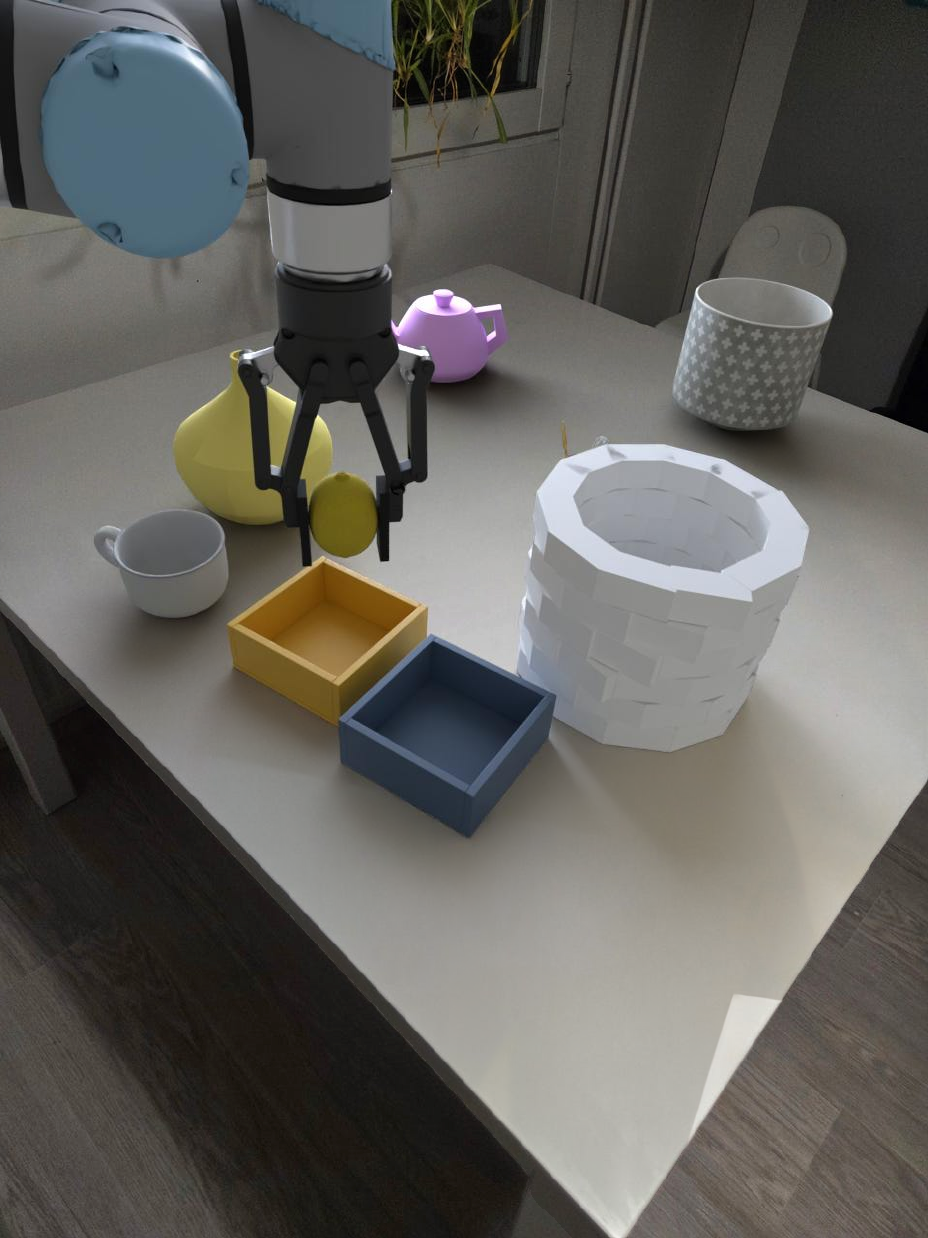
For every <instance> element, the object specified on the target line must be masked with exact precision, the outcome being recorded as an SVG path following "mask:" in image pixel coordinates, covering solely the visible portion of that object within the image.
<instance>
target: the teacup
mask: <svg viewBox="0 0 928 1238" xmlns="http://www.w3.org/2000/svg"><path fill="white" fill-rule="evenodd" d="M107 539H108V540H110V541H112V542H113V546H111V544H110V543H109V542H108V540H107ZM93 545H94V547H95V549H96V551H97V552H98V554H99V556H101V557H102V558H103V559H104V560H105V561H106V562H108V563H109V564H110V565H112V566H114V567H116V568H117V569H118V570H119V573H120V576H121V579H122V582H123V585H124V587H125V590H126V592H127V594H128V596H129V598H130V599H131V600H132V602H133V603H134V604H135V605H136V606H137V607H138V608H139V609H140V610H142V611H144V612H145V613H148V614H150V615H153V616H156V617H160V618H169V619H171V618H172V619H173V618H174V619H179V618H186V617H190V616H194V615H197V614H199V613H201V612H203V611H205V610H206V609H208V608H210V607H211V606H212V605H214V604H215V603H217V601H219V599H220V598H222V595H223V594H224V593H225V591H226V587H227V585H228V582H229V574H230V573H229V571H230V570H229V561H228V560H229V559H228V553H227V549H226V535H225V532H224V529H223V527H222V525H221V523H219V522H218V521H217V520H216V519H215V518H213V517H212V516H210V515H209V514H206V513H203V512H201V511H197V510H191V509H180V508H176V509H175V508H173V509H164V510H159V511H154V512H151V513H149V514H145V515H143V516H141V517H139V518H136V519H135V520H134V521H132V522H130V523H129V524H128V525H126V526H125V527H124V528H123V529H120V528H117V527H115V526H112V525H105V526H102V527H100V528H99V529H98V530H97V531H96V532H95V534H94V536H93Z"/></svg>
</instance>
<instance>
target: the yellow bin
mask: <svg viewBox="0 0 928 1238" xmlns="http://www.w3.org/2000/svg"><path fill="white" fill-rule="evenodd" d="M428 614H429V606H427V605H425V604H424V603H421V602H419V601H417V600H415V599H412V598H410V597H408V596H406V595H404V594H402V593H400V592H397V591H396V590H394V589H391V588H389V587H388V586H385V585H384V584H381V583H379V582H377V581H376V580H373V579H371V578H369V577H366V576H365V575H362V574H360V573H359V572H356V571H354V570H352V569H350V568H348V567H346V566H344V565H342V564H339V563H337V562H335V561H333V560H331V559H330V558H328V557H326V556H323V555H322V556H320V557H318V558H317V559H315V560H314V561H312V566H309V567H303V569H301V570H300V571H299V572H298V573H296V574H295V575H293V576H291V578H289V579H288V580H286V581H284V583H282V584H281V585H279V586H278V587H276V588H275V589H274V590H272V591H271V592H269V593H268V594H267V595H265V596H263V597H262V598H261V599H260V600H258V601H257V602H255V603H254V604H252V605H251V606H250V607H249V608H247V609H246V610H244V611H242V612H241V613H240V614H239V615H237V616H235V618H233V619H232V620H230V621H229V622H227V623H226V631H227V637H228V643H229V649H230V653H231V660H232V666H233V668H235V669H236V670H238V671H240V672H242V673H243V674H245V675H247V676H249V677H250V678H251V679H254V680H256V681H257V682H259V683H261V684H262V685H264V686H266V687H267V688H270V689H271V690H272V691H274V692H276V693H278V694H280V695H281V696H283V697H285V698H286V699H287V700H290V701H292V702H293V703H295V704H297V705H298V706H300V707H302V708H304V709H305V710H307V711H309V712H311V713H313V714H314V715H316V716H318V717H320V718H321V719H322V720H324V721H326V722H328V723H330V725H331V724H332V725H333V726H334V727H337V728H338V719H339V718H340V717H341V716H342V715H343V714H345V713H346V712H347V711H348V710H349V709H350V708H351V707H352V706H353V705H354V704H355V703H356V702H357V701H359V700H360V699H361V698H362V697H363V696H364V695H365V694H366V693H367V692H368V691H369V690H370V689H371V688H373V687H374V686H375V685H376V684H377V683H378V682H379V681H380V680H381V679H382V678H383V677H384V676H385V675H387V674H388V673H389V672H390V671H391V670H392V669H393V668H394V667H395V666H396V665H397V664H398V663H399V662H401V661H402V660H403V659H404V658H405V657H406V656H407V655H408V654H409V653H410V652H411V651H412V650H413V649H415V648H416V647H417V646H418V645H419V644H420V643H421V642H422V641H423V640H424V639H425V638H426V637H427V636H428V621H429V620H428V618H429V617H428Z"/></svg>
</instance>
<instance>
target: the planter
mask: <svg viewBox="0 0 928 1238" xmlns="http://www.w3.org/2000/svg"><path fill="white" fill-rule="evenodd" d="M833 311H834V310H833V309H832V307H831V306H830V304H829V303H827V302H826V300H824V299H822V297H821V298H820V297H819V296H818V295H815V293H811V292H810V291H807V290H805V289H802V288H799V287H797V286H793V285H789V284H785V283H782V282H777V281H771V280H766V279H760V278H759V279H758V278H751V277H750V278H749V277H723V278H722V277H721V278H714V279H709V280H708V281H704V282H702V283H701V284H699V285H698V287H696V289H695V292H694V297H693V301H692V305H691V309H690V313H689V317H688V321H687V324H686V330H685V333H684V338H683V342H682V345H681V346H682V347H681V351H680V353H679V358H678V362H677V366H676V371H675V375H674V379H673V383H672V388H671V394H672V395H671V396H672V398H673V399H674V401H675V402H676V403H677V404H678V406H680V407H681V409H684V411H686V412H688V413H690V414H691V415H693V416H695V417H697V418H699V419H700V420H702V421H704V423H705V422H706V423H707V424H709V425H712V426H714V427H717V428H720V429H723V430H728V431H735V432H749V431H765V430H773V429H778V428H782V427H786V426H787V425H789V424H791V423H793V422H794V421H795V419H796V418H797V417H798V415H799V411H800V408H801V406H802V404H803V400H804V397H805V395H806V391H807V390H808V385H809V384H810V381H811V378H812V375H813V372H814V370H815V367H816V364H817V361H818V358H819V356H820V353H821V350H822V347H823V344H824V341H825V339H826V335H827V333H828V330H829V327H830V324H831V322H832V319H833V316H834V312H833Z"/></svg>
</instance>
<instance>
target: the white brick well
mask: <svg viewBox="0 0 928 1238" xmlns="http://www.w3.org/2000/svg"><path fill="white" fill-rule="evenodd" d="M590 449H591V450H590ZM590 449H589V450H585V451H583V452H579V453H576V454H577V455H574V454H573V455H574V456H571V457H568V458H565V457H564V458H565V459H564V458H562V459H559V460H558V462H557V463H556V465H555V466H554V468H553V469H552V470H551V471H550V473H549V474H548V476H546V477H545V480H544V481H543V482H542V484H541V485H540V486H539V488H538V489H537V490H536V493H535V500H534V506H533V514H532V515H533V516H532V522H533V526H534V529H535V534H534V541H532V545H531V547H530V549H529V550H527V553H526V562H525V569H524V576H523V577H524V578H523V579H524V581H525V584H526V592H525V595H524V596H523V598H522V600H521V601H520V608H519V616H518V621H517V627H518V630H519V633H520V634H519V643H518V651H517V652H518V654H517V664H516V671H517V674H519V677H520V678H522V679H524V680H526V681H528V682H530V683H532V684H535V685H537V686H539V687H541V688H543V689H545V690H547V691H548V692H551V693H553V694H555V695H556V701H555V706H554V711H553V717H552V718H554V719H556V720H559V721H560V722H561V723H563V724H565V725H567V726H569V727H571V728H572V729H574V730H576V731H578V732H580V733H582V734H583V735H584V736H587V737H588V738H591V739H592V740H594V741H596V742H598V743H600V744H601V745H608V746H618V747H623V748H632V749H640V750H647V751H654V752H655V751H657V752H664V753H673V752H675V751H678V750H681V749H684V748H687V747H690V746H693V745H696V744H700V743H703V742H705V741H708V740H711V739H715V738H717V737H718V738H719V737H720V736H723V735H724V733H725V732H726V730H727V728H728V727H729V726H730V724H731V723H732V721H733V720H734V718H735V717H736V715H738V712H739V711H740V709H741V708H742V706H743V705H744V703H745V702H746V700H747V699H748V697H749V695H750V693H751V690H752V687H753V685H754V683H755V680H756V679H757V676H758V674H757V673H758V668H759V664H760V663H761V661H762V660H763V659H764V657H765V655H766V654H767V652H768V649H769V648H770V647H771V646H772V645H771V644H772V642H773V640H774V637H775V635H776V633H777V630H778V628H779V625H780V622H781V620H780V618H781V613H782V612H783V610H784V609H785V608H786V606H788V605H789V602H790V599H791V597H792V594H793V592H794V590H795V588H796V584H797V583H798V580H799V573H800V570H801V568H802V564H803V559H804V555H805V551H806V546H807V542H808V538H809V534H810V531H811V528H810V526H809V525H808V524H807V522H806V521H805V520H804V519H803V517H802V516H801V515H800V513H799V512H798V510H797V509H796V507H794V505H793V503H792V502H791V501H790V500H789V498H788V497H787V495H786V494H785V492H784V491H783V490H778V489H777V488H775V487H773V486H772V485H770V484H769V483H766V482H765V481H764V480H761V479H759V478H757V477H756V476H754V475H752V474H751V473H749V472H747V471H745V470H743V469H741V468H740V467H738V466H736V465H735V464H732V462H729V461H728V460H727V459H723V458H719V457H715V456H711V455H707V454H703V453H699V452H695V451H691V450H687V449H683V448H680V447H675V446H672V445H668V444H667V443H665V444H664V443H655V444H654V443H653V444H651V443H650V444H649V443H648V444H647V443H645V444H643V443H642V444H641V443H639V444H637V443H636V444H635V443H633V444H629V443H624V444H623V443H621V444H617V443H616V444H615V443H613V444H612V443H609V444H608V443H606V444H605V443H604V445H603V444H602V445H600V446H596V447H594V448H590Z"/></svg>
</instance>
